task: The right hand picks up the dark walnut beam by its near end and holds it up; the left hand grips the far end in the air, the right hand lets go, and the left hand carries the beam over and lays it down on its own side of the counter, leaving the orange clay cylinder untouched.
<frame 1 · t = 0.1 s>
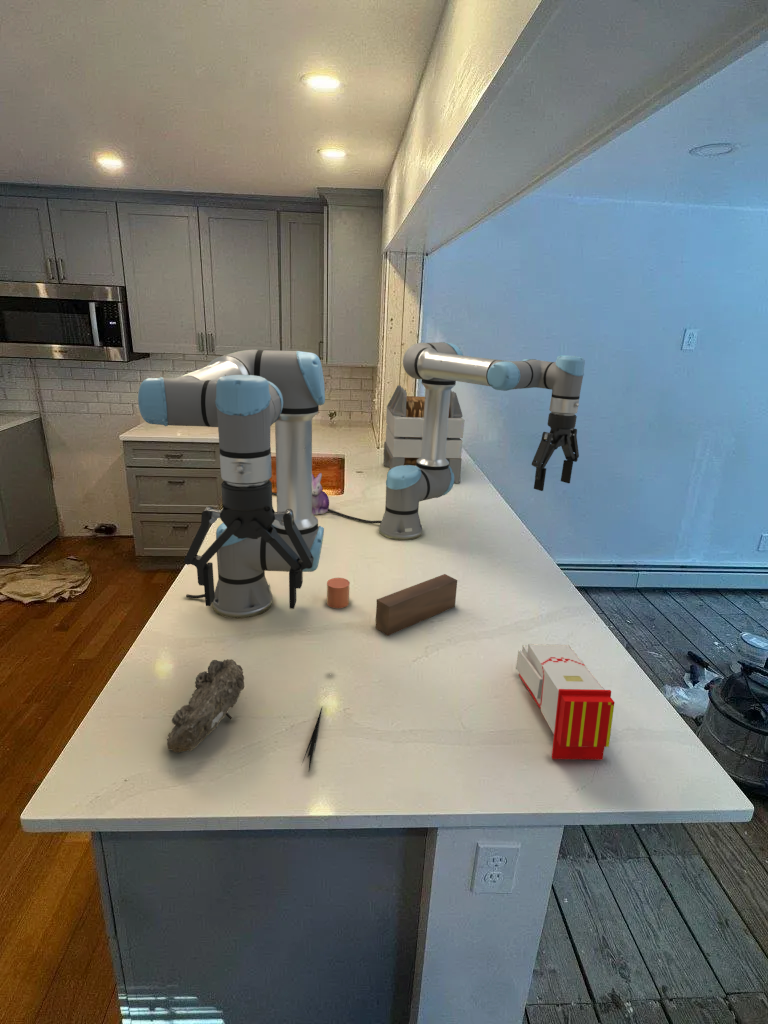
left hand: (251, 603, 94), 28 cm above the counter, fingers open, 13 cm apart
right hand: (552, 485, 166), 28 cm above the counter, fingers open, 13 cm apart
beam: (416, 617, 147), on the counter
toy: (553, 709, 114), on the counter
figurine character: (285, 554, 179), on the counter
fossil: (212, 717, 108), on the counter
feather: (319, 719, 109), on the counter
orange clay cylinder: (337, 602, 152), on the counter
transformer: (419, 473, 275), on the counter
figurine: (318, 511, 218), on the counter
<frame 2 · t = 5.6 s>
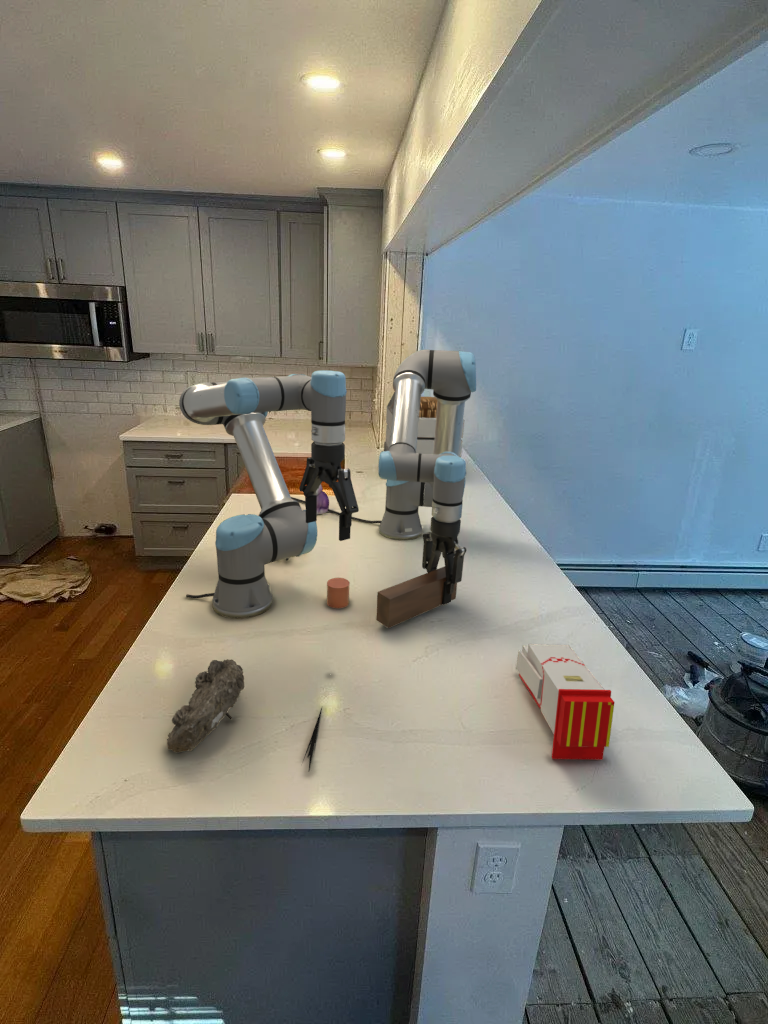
left hand: (327, 530, 134), 25 cm above the counter, fingers open, 13 cm apart
right hand: (439, 598, 151), 2 cm above the counter, fingers closed on beam, 5 cm apart
beam: (417, 609, 146), point 2 cm above the counter, touching right hand
everything else where it was.
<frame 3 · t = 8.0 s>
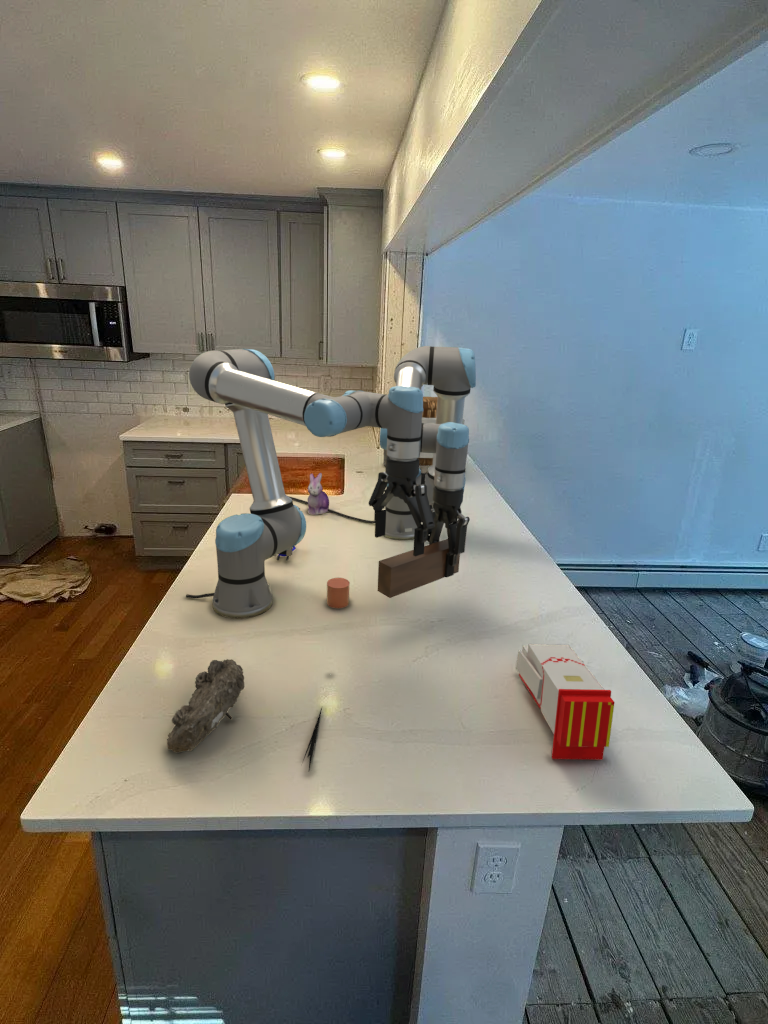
left hand: (398, 545, 134), 22 cm above the counter, fingers open, 13 cm apart
right hand: (441, 571, 148), 11 cm above the counter, fingers closed on beam, 5 cm apart
beam: (419, 581, 143), point 10 cm above the counter, touching right hand
everything else where it was.
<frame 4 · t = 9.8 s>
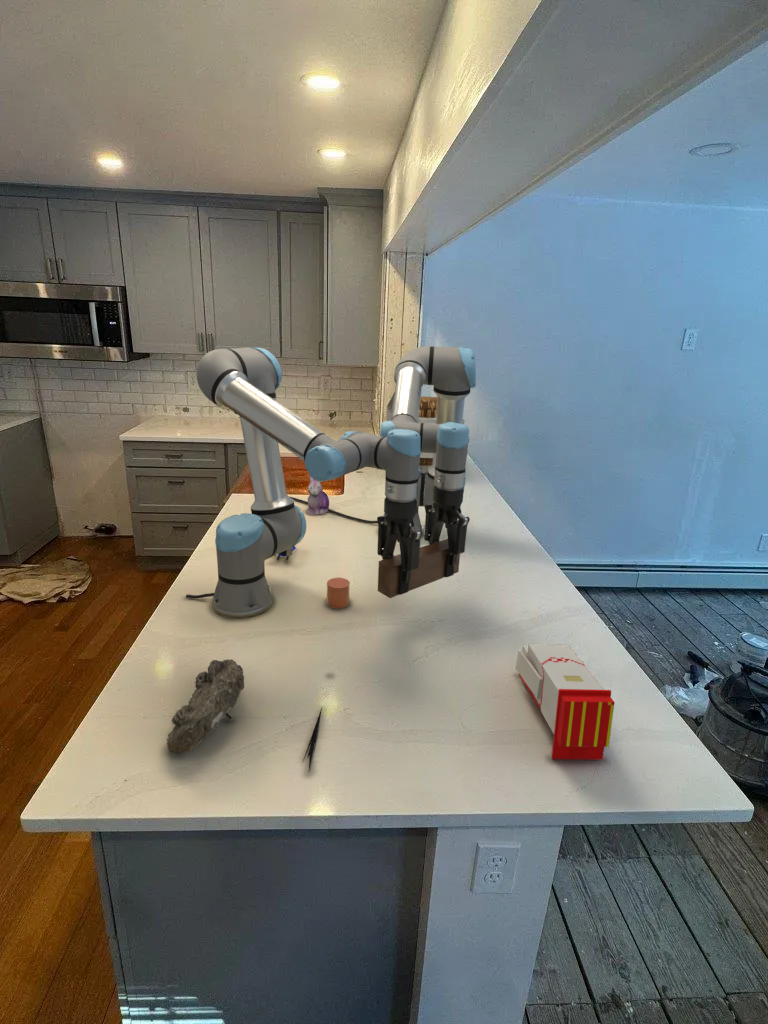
left hand: (395, 588, 138), 11 cm above the counter, fingers closed on beam, 5 cm apart
right hand: (441, 571, 148), 11 cm above the counter, fingers closed on beam, 5 cm apart
beam: (419, 581, 143), point 10 cm above the counter, touching right hand, left hand
everything else where it was.
when the right hand's fingers open (11 cm above the counter, at t = 10.6 s): beam stays where it is, held by the left hand.
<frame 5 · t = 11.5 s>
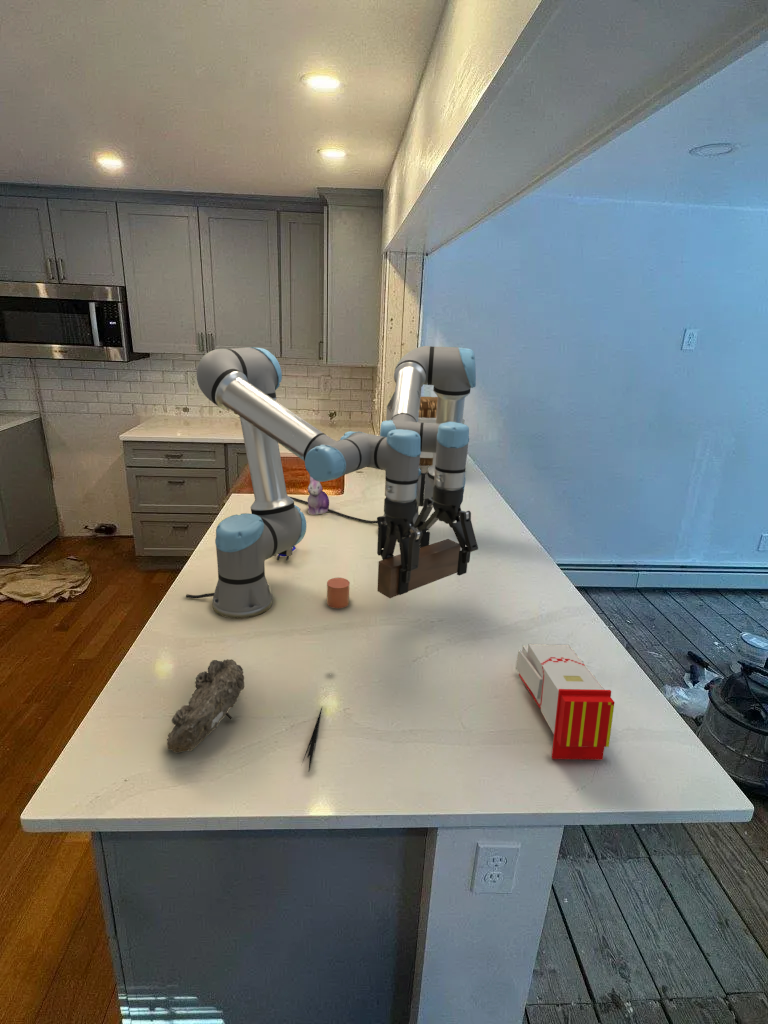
left hand: (395, 588, 138), 11 cm above the counter, fingers closed on beam, 5 cm apart
right hand: (442, 564, 147), 13 cm above the counter, fingers open, 13 cm apart
beam: (419, 581, 143), point 10 cm above the counter, touching left hand
everything else where it was.
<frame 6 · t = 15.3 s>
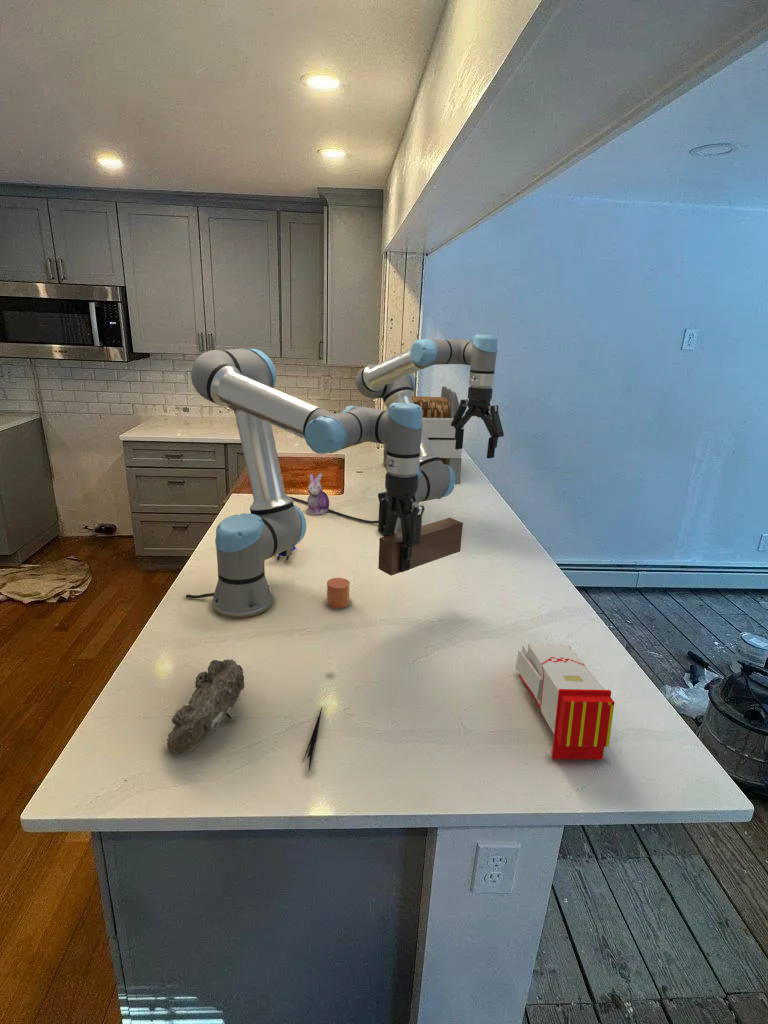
left hand: (396, 566, 136), 17 cm above the counter, fingers closed on beam, 5 cm apart
right hand: (474, 453, 184), 32 cm above the counter, fingers open, 13 cm apart
beam: (421, 559, 141), point 16 cm above the counter, touching left hand
everything else where it was.
when the left hand's fingers open (1 cm above the counter, at t = 20.7 s): beam stays where it is, on the counter.
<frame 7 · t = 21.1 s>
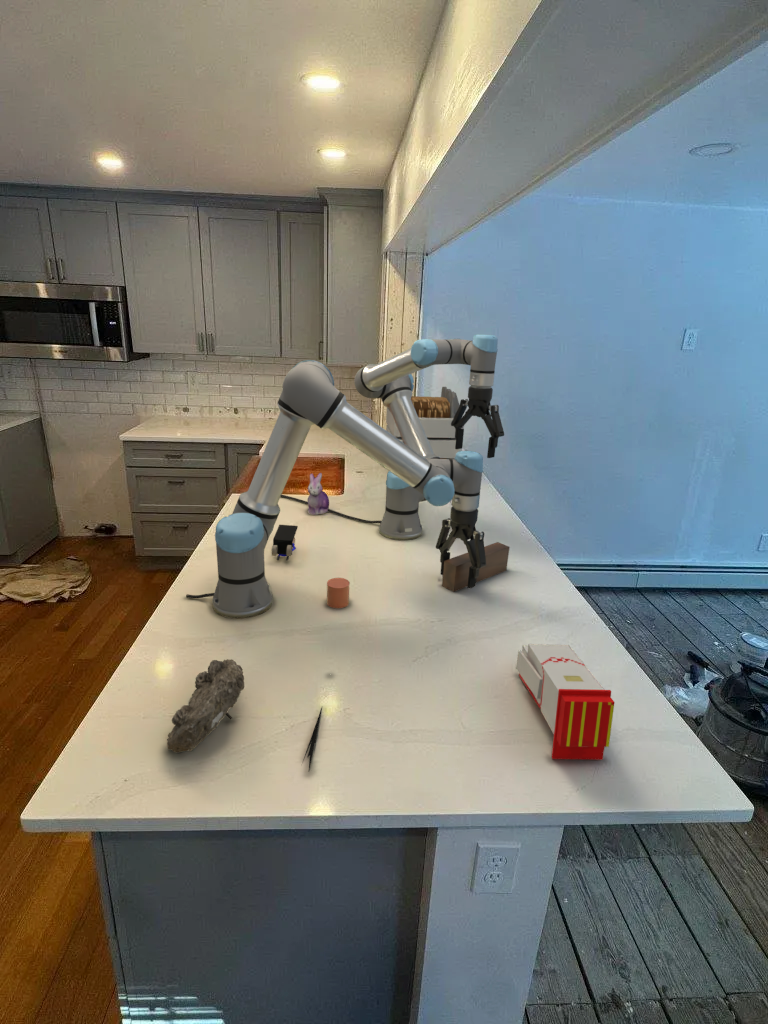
left hand: (457, 580, 164), 2 cm above the counter, fingers open, 10 cm apart
right hand: (474, 453, 184), 32 cm above the counter, fingers open, 13 cm apart
beam: (475, 577, 169), on the counter
everything else where it was.
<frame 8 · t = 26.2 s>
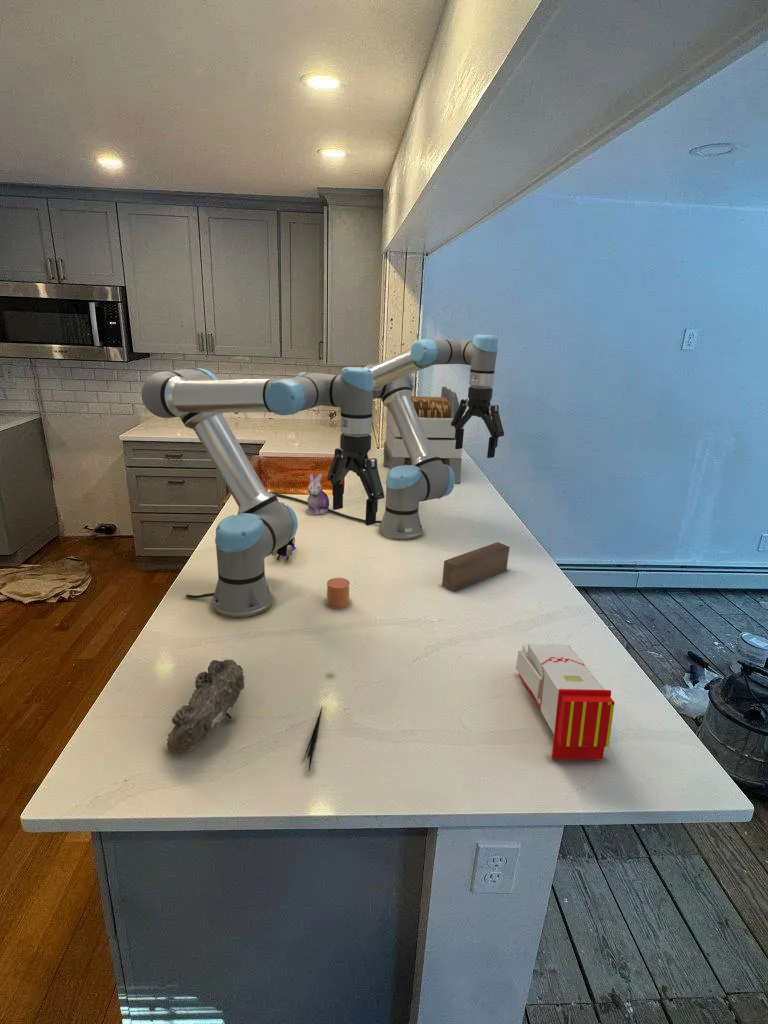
left hand: (353, 516, 144), 25 cm above the counter, fingers open, 13 cm apart
right hand: (474, 453, 184), 32 cm above the counter, fingers open, 13 cm apart
nothing on the counter moved.
at the end: beam inside the target area (0.0 cm from its centre), on the counter; both hands held the beam at the same time; the left hand is holding nothing; the right hand is holding nothing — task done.
